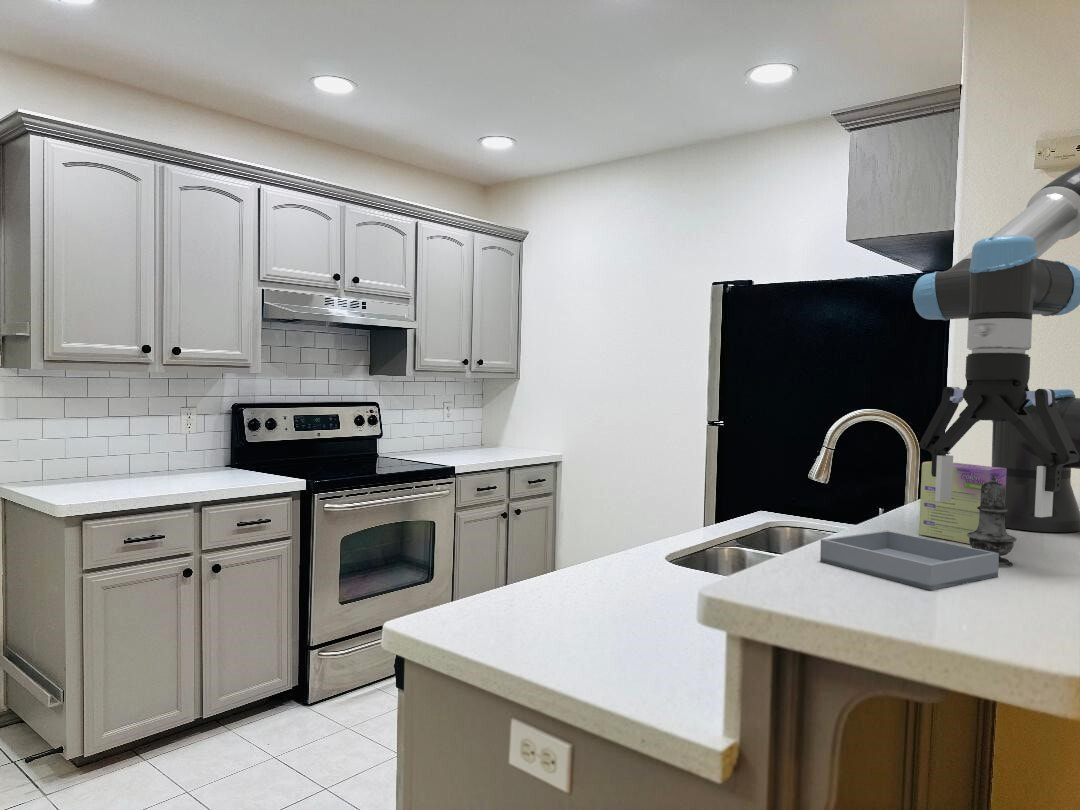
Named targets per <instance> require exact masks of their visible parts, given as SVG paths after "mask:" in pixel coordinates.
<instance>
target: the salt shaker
mask: <svg viewBox="0 0 1080 810" xmlns="http://www.w3.org/2000/svg"><path fill="white" fill-rule="evenodd" d="M991 479H992V480H991V481H989V482H987V483H984V484H983V485H982V486H981V502H980V506H979V507H977V509H979V510H980V512H979V525H978V528H977V530H975V531H974V532H970V533H967V536H968V537H969V542H970V544H969V545H970V547H971V548H976V549H981V550H985V551H990V552H995V553H999V565H998V568H1010V567H1013V566H1014V564H1013V562H1012V561H1010V560H1009V559H1007V558H1004V557H1003V556H1006V555H1008V554H1009V553H1011V552H1012V550H1013V548H1014V542H1016V541H1017V538H1015V536H1012V535H1010V534H1009V533H1008V532H1007V529H1006V528H1005V512H1007V511H1008V510H1007V509H1006V508H1005V487H1004V486H1003V485H1002V484H1000V483H998V482H996V481H995V479H996V478H995V476H994V475H993V476H992V478H991Z"/></svg>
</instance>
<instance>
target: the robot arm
mask: <svg viewBox="0 0 1080 810" xmlns="http://www.w3.org/2000/svg"><path fill="white" fill-rule="evenodd" d="M1079 232H1080V164H1079V165H1077V166H1075V167H1074V168H1072V169H1070V170H1069V171H1066V172H1065V173H1063V174H1061V175H1059V176H1058V177H1056V178H1055V179H1053V180H1052V181H1050V182H1048V183H1047V184H1046V185H1045V186H1043V187H1042V188H1041V189H1039V190H1038V191H1037V192H1035V193H1034V194H1033V195H1032V196H1031V198H1029V200H1028V202H1027V204H1026V208H1025V209H1024V210H1023V211H1021V212H1020V213H1019V214H1018V215H1016V216H1015V217H1014V218H1012V219H1011V220H1010V221H1008V222H1007V223H1006V224H1005V225H1004V226H1002V227H1001V228H1000V229H999V230H997V231H996V232H995V233H994V234H992V235H991V236H990V237H989V236H988V237H985V238H982V239H979V240H977V241H976V242H974V244H973V246H972V250H971V252H970V253H968V254H967V255H966V256H965V257H963V258H962V259H961V260H960V261H958V262H956V264H954V265H953V266H951V268H949V269H947V270H944V271H939V270H938V271H934V272H931V273H926V274H924V275H922V276H920V277H919V278H918V279H917V281H916V282H915V284H914V287H913V291H912V300H913V304H914V307H915V311H916V312H917V314H918V315H919V316H920V317H921V318H923V319H925V320H932V321H933V320H942V321H949V320H958V319H967V341H966V348H967V349H968V350H969V351H971V353H968V354H967V356H966V357H965V358H966V359H965V376H964V377H965V380H966V386H965V387H964V389H963V388H960V387H959V386H945V387H943V389H942V395H941V401H940V403H939V405H938V407H937V408H936V411H935V413H934V415H933V417H932V419H931V420H930V422H929V424H928V427H927V428H926V430H925V431H924V434H923V435H922V437H921V440H920V441H919V443H918V446H919V448H920V449H922V450H925V451H928V452H929V453H930V454H931V461H932V469H931V473H932V476H933V477H936V489H935V501H940V502H941V501H951V495H952V474H953V463H954V455H950V454H951V452H950V451H951V450H952V449H953V448H954V447H955V446H956V445H957V443H958V442H959V441H960V440H961V439H962V438H963V437H965V435H966V434H967V432H969V431H970V429H971V428H972V427H973V426H974V425H975V424H976V423H978V422H980V421H991V422H992V436H991V437H992V438H991V439H992V440H991V467H999V468H1006V469H1007V471H1006V492H1005V508H1006V509H1007V510H1008V511H1007V512H1005V529H1006V528H1007V529H1012V530H1020V531H1022V530H1023V531H1030V532H1041V533H1042V532H1043V533H1070V532H1071V533H1072V532H1073V533H1074V532H1078V531H1080V508H1079V504H1078V502H1077V500H1076V496H1075V493H1074V489H1073V487H1072V483H1071V482H1072V481H1071V476H1072V469H1076V470H1080V397H1076V394H1075V392H1074V391H1073V390H1072V389H1068V388H1067V389H1065V388H1064V389H1051V388H1038V389H1036V390H1030V388H1029V380H1030V375H1031V373H1030V371H1031V356H1029V354H1027V353H1026V351H1029V350H1031V348H1032V333H1033V330H1032V327H1033V325H1032V324H1033V321H1032V320H1033V315H1041V316H1042V317H1049V316H1051V317H1055V316H1062V315H1066V314H1068V313H1071V312H1072V311H1074V310H1076V309H1077V308H1078V307H1079V306H1080V269H1078V268H1076V267H1075V266H1073V265H1070V264H1067V263H1066V262H1064V261H1062V262H1061V261H1059V260H1050V259H1049V260H1048V259H1044V258H1043V259H1042V258H1040V257H1041V256H1043V254H1045V253H1046V252H1047V251H1048V250H1049V249H1051V248H1052V247H1053V246H1054V245H1055V244H1057V243H1058V242H1059V241H1060V240H1066V239H1069V238H1072V237H1073V236H1075V235H1077V234H1078V233H1079ZM963 400H964V401H965V403H966V404H967V405H966V406H965V408H964V409H963V410H962V411H961V412H960V413H959V414H958V418H957V419H956V420H955V421H954V422H953V423H952V424H951V426H950V427H949V428H948V426H949V424H950V423H951V421H952V420H953V419H952V418H953V417H954V415H955V413H956V411H957V409H958V407H959V405H960V403H962V401H963ZM947 428H948V429H947Z"/></svg>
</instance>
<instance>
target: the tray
mask: <svg viewBox="0 0 1080 810" xmlns="http://www.w3.org/2000/svg"><path fill="white" fill-rule="evenodd" d="M819 553H820V555H819V556H820V558H819V559H820V560H819V562H821V563H826V564H828V565H832V566H836V567H840V568H843V569H847V570H852V571H855V572H859V573H863V574H866V575H869V576H874V577H877V578H881V579H885V580H889V581H892V582H895V583H896V582H897V583H900V584H903V585H907V586H911V587H915V588H919V589H922V590H925V591H936V590H940V589H945V588H946V589H947V588H950V587H955V586H959V584H960V585H964V584H963V583H965V584H967V583H966V582H970V583H973V582H972V581H975V582H978V581H977V580H980V581H983V580H982V579H984V580H987V579H988V578H989V579H992V577H994V578H998V577H999V567H998V565H999V557H1000V556H999V553H995V552H990V551H985V550H981V549H976V548H972V547H971V546H965V545H961V544H960V545H959V544H956V543H950V542H946V541H941V540H937V539H930V538H926V537H920V536H916V535H911V534H908V533H901V532H896V531H892V530H882V531H881V530H880V531H874V532H873V531H872V532H867V533H858V534H851V535H845V536H844V535H843V536H836V537H831V538H822V539H820V552H819ZM989 579H988V580H989Z"/></svg>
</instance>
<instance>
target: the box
mask: <svg viewBox="0 0 1080 810" xmlns="http://www.w3.org/2000/svg"><path fill="white" fill-rule="evenodd" d="M931 469H932V460H931V461H923V462H922V463H921V479H920V481H921V482H920V500H919V503H920V504H919V520H918V521H919V522H918V528H919V530H918V534H919V536H920V535H921V536H927V537H933V538H938V539H943V540H948V541H952V542H957V543H962V544H967V545H970V542H969V537H968V536H967V533H970V532H974V531H975V530H977V528H978V525H979V512H980V510H979V509H977V507H979V506H980V502H981V486H982V485H983V484H984V483H987V482H989V481H991V480H992V479H991V478H992V476H993V475H994V476H995V478H996V479H995V481H996V482H998V483H1000V484H1002V485H1003V486H1004V487H1005V492H1006V471H1007V469H1006V468H999V467H992V466H990V465H989V466H988V465H987V466H986V465H980V464H971V463H961V462H960V463H959V462H953V474H952V495H951V501H941V502H940V501H935V489H936V477H933V476H932V473H931Z"/></svg>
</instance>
